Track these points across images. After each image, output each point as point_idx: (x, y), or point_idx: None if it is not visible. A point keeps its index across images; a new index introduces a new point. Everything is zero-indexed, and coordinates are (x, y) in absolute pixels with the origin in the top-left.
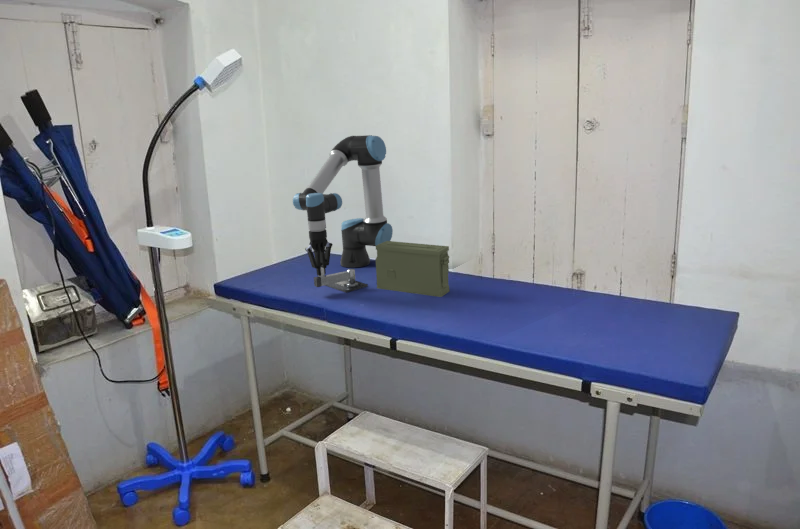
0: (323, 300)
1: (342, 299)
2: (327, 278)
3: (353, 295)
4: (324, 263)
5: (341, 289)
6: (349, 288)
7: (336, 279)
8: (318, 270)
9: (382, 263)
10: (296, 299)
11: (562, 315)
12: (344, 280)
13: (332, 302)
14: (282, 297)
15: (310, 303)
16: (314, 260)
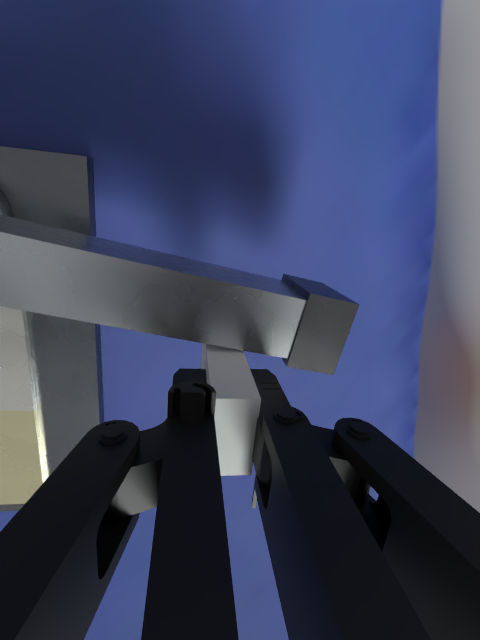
0: (331, 166)
1: (229, 35)
2: (220, 277)
3: (89, 30)
4: (189, 453)
5: (91, 228)
6: (25, 178)
7: (110, 246)
8: (288, 405)
9: None
10: (401, 337)
11: None
12: (18, 219)
13: (329, 54)
14: (409, 424)
15: (421, 194)
16: (477, 543)
